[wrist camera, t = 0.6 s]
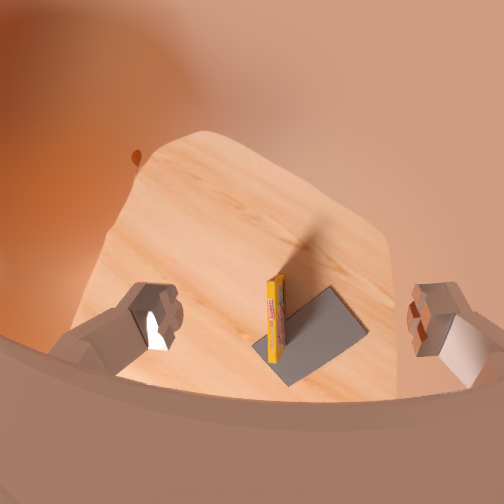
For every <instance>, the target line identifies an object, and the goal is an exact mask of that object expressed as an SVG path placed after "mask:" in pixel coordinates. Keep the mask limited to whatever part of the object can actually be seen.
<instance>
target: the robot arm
mask: <svg viewBox="0 0 504 504" xmlns="http://www.w3.org/2000/svg"><path fill="white" fill-rule="evenodd" d="M177 295H178V292H177V289H176V286H174V285H173V284H164V283H147V282H137V283H135V284H134V285H133V286H132V287H131V289H130V290H129V291H128V292H127V294H126V295H125V296H124V297H123V299H122V300H121V301H120V302H119V304H118V305H117V306H116V308H111V309H109V310H107V311H105V312H103V313H101V314H99V315H98V316H96V317H94V318H92V319H90V320H88V321H87V322H85V323H83V324H81V325H79V326H77V327H75V328H74V329H72V330H70V331H68V332H66V333H65V334H63V335H62V336H61V338H60V339H59V340H58V342H57V343H56V344H55V345H54V347H53V348H52V349H51V351H50V352H49V353H48V354H45V353H42V352H39V351H37V350H35V349H32V348H30V347H27V346H25V345H22V344H20V343H18V342H15V341H13V340H11V339H8V338H7V337H4V336H2V335H0V504H504V330H502V329H501V328H500V327H498V326H497V325H495V324H494V323H492V322H491V321H489V320H488V319H487V318H485V317H484V316H482V315H481V314H479V313H478V312H473V311H472V310H471V308H470V306H469V304H468V302H467V300H466V299H465V297H464V295H463V293H462V292H461V290H460V288H459V286H458V285H457V283H455V282H444V283H435V284H416V285H415V286H414V288H413V292H412V296H413V299H414V301H413V302H412V303H411V304H410V305H409V308H408V314H407V325H408V329H409V332H410V333H411V334H412V335H413V336H414V338H413V341H412V344H413V347H414V351H415V355H416V357H424V356H437V355H439V358H440V359H441V360H442V361H443V362H444V363H445V364H446V365H447V366H448V367H449V369H451V371H452V372H453V373H454V374H455V375H456V376H457V377H458V378H459V379H460V380H461V382H462V383H463V384H464V385H465V386H466V387H467V388H468V389H464V390H459V391H454V392H448V393H442V394H435V395H429V396H422V397H413V398H405V399H394V400H382V401H367V402H340V403H308V402H280V401H264V400H252V399H241V398H232V397H223V396H216V395H208V394H201V393H195V392H189V391H183V390H177V389H172V388H167V387H162V386H157V385H152V384H147V383H143V382H138V381H134V380H130V379H126V378H122V377H118V376H115V375H116V374H118V373H119V372H120V371H121V370H123V369H124V368H125V367H126V366H128V365H129V364H130V363H131V362H133V361H134V360H135V359H136V358H138V357H139V356H140V355H141V354H143V353H144V352H145V351H146V350H148V348H151V349H159V350H169V348H170V346H171V344H172V342H173V341H174V339H175V336H174V332H175V331H177V330H178V329H180V327H181V325H182V322H183V316H184V315H183V308H182V304H181V303H180V302H179V301H178V300H177V299H176V297H177Z"/></svg>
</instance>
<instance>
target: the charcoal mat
mask: <svg viewBox="0 0 504 504" xmlns="http://www.w3.org/2000/svg"><path fill="white" fill-rule="evenodd" d="M367 334H368V333H367V332H366V331H365V329H364V328H363V327H362V326H361V325H360V323H359V322H358V321H357V320H356V318H355V317H354V316H353V315H352V313H351V312H350V311H349V310H348V309H347V307H346V306H345V305H344V304H343V303H342V301H341V300H340V299H339V298H338V296H337V295H336V294H335V293H334V292H333V290H332V289H331V288H330V287H328V288H327V289H326V290H325V291H323V292H322V293H321V294H320V295H318V296H317V297H316V298H315V299H313V300H312V301H311V302H310V303H308V304H307V305H306V306H304V307H303V308H302V309H301V310H299V311H298V312H297V313H295V314H294V315H293V316H292V317H290V318H289V319H288V320H286V321H285V349H284V351H283V353H282V355H281V357H280V359H279V360H278V362H277V363H269V362H268V335H266V336H265V337H263V338H262V339H261V340H259V341H258V342H257V343H255V344H254V345H252V347H253V348H254V350H255V351H256V352H257V353H258V354H259V355H260V356H261V357H262V359H263V360H264V361H265V362H266V363H267V364H268V365H269V366H270V367H271V369H272V370H273V371H274V372H275V373H276V374H277V375H278V376H279V377H280V378H281V379H282V381H283V382H284V383H285V384H286V385H287V386H288V387H289V386H290V385H292V384H294V383H295V382H297V381H299V380H300V379H302V378H304V377H305V376H307V375H308V374H310V373H312V372H313V371H315V370H316V369H318V368H319V367H321V366H323V365H324V364H326V363H327V362H329V361H330V360H332V359H333V358H335V357H336V356H338V355H339V354H341V353H342V352H343V351H345V350H346V349H348V348H349V347H351V346H352V345H353V344H355V343H356V342H358V341H359V340H360V339H362V338H363V337H364V336H366V335H367Z"/></svg>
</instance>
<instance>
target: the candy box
mask: <svg viewBox="0 0 504 504" xmlns="http://www.w3.org/2000/svg"><path fill="white" fill-rule="evenodd" d="M267 328H268V362H269V363H277V362H278V360H279V359H280V357H281V355H282V353H283V351H284V349H285V274H277V275H275V276H274V277H273V278H271V279H270V280H268V281H267Z"/></svg>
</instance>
